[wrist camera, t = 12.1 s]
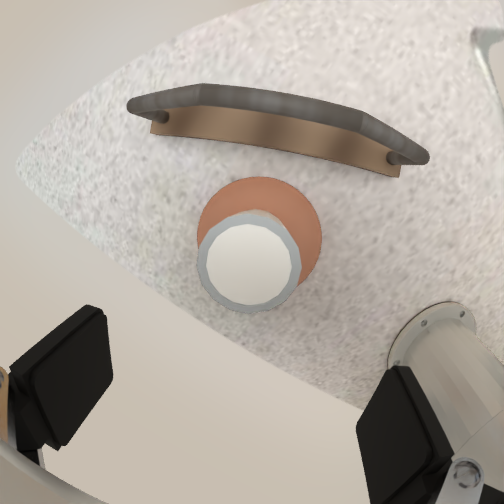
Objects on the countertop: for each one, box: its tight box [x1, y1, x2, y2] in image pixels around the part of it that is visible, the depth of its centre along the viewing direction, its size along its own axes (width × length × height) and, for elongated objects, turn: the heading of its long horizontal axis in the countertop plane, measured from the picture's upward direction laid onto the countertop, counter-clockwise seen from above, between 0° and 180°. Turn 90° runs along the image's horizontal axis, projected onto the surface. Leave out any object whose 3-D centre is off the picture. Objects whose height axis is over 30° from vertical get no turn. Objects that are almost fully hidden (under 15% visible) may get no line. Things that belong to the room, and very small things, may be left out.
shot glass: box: [197, 209, 302, 314], centre depth 22 cm, size 7×7×7 cm
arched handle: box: [127, 83, 430, 178], centre depth 18 cm, size 22×3×12 cm, turn 80°
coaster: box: [197, 177, 322, 286], centre depth 26 cm, size 11×11×1 cm
